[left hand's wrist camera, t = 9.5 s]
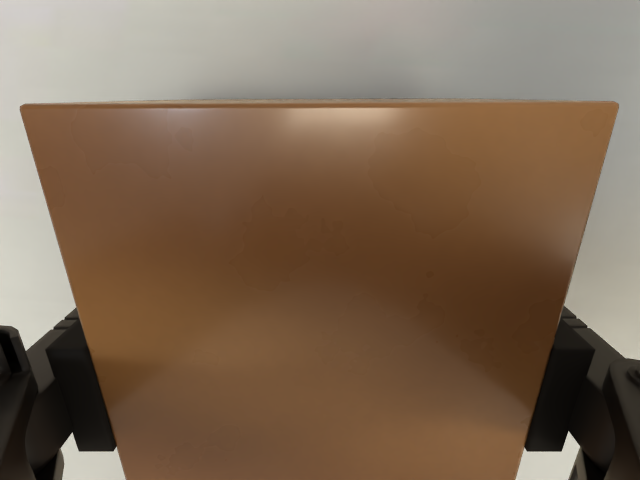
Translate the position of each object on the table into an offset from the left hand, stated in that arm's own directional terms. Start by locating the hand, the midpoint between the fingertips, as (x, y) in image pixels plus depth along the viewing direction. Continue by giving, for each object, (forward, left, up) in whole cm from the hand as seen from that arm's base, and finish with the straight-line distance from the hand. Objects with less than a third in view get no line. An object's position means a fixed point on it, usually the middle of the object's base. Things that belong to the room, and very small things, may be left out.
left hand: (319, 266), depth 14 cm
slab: (+12, +21, -1) cm, 24 cm away
